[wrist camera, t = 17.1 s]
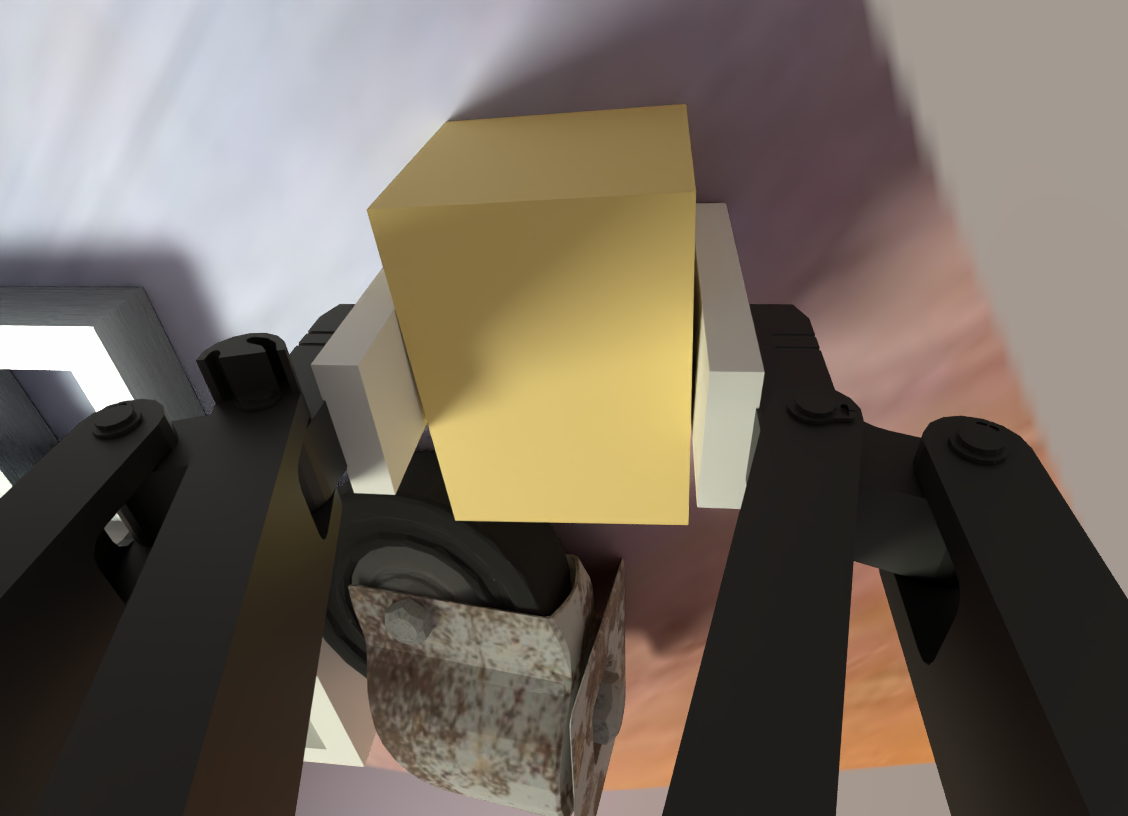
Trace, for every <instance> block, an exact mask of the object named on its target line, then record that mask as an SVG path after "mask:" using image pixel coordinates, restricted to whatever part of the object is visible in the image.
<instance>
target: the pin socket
mask: <svg viewBox="0 0 1128 816" xmlns="http://www.w3.org/2000/svg"><path fill="white" fill-rule="evenodd" d="M9 369H26V370H71V371H72V373H73V375H74V376H75V378H76V379H77V381H78V383H79V384H80V386H81V388H82V389H83V391H84V392H85V394H86V396H87V397H88V399H89V400H90V402H91V404H92V405H93V407H94V409H95V410H96V412H97V411H99V410H101V409H103V408H105V407H106V406H108V405H110V404H113V403H118V402H120V401H124V400H135V399H149V400H156V401H157V402H159V403H160V404H161V405H163V406H164V408H165V410H166V412H167V414H168V416H169V418H170V420H171V421H176V420H182V419H187V418H193V417H199V416H204V415H205V413H204V411H203V409H202V407H201V405H200V403H199V401H198V399H197V397H196V395H195V393H194V391H193V389H192V386H191V384H190V382H189V380H188V378H187V376H186V374H185V372H184V370H183V368H182V366H181V364H180V362H179V360H178V358H177V356H176V354H175V352H174V350H173V348H172V346H171V344H170V342H169V340H168V338H167V336H166V334H165V332H164V330H163V328H162V325H161V323H160V321H159V319H158V317H157V315H156V313H155V311H154V309H153V307H152V305H151V303H150V301H149V299H148V297H147V295H146V293H145V291H144V289H143V287H0V498H1V497H2V496H3V495H4V494H5V493H6V492H7V491H8V490H9V489H10V488H11V487H13V486H14V485H15V484H16V483H17V482H18V481H19V480H20V479H21V478H22V477H23V476H24V475H25V474H26V473H27V472H28V471H29V470H31V469H32V468H33V467H34V466H35V465H36V464H37V463H38V462H39V461H40V460H41V459H42V458H43V457H44V456H45V455H46V454H47V453H49V452H50V451H51V450H52V449H53V448H54V447H55V446H56V445H57V444H58V443H59V442H58V440H57V439H56V437H55V436H54V434H53V433H52V431H51V430H50V428H49V427H48V426H47V424H46V423H45V421H44V420H43V418H42V417H41V415H40V414H39V412H38V411H37V409H36V408H35V407H34V405H33V404H32V402H31V401H30V399H29V398H28V396H27V395H26V393H25V392H24V391H23V389H22V388H21V386H20V385H19V383H18V382H17V380H16V379H15V377H14V376H13V375H12V373H11V372H10V370H9ZM111 521H122V520H121V518H120V517H119V515H118V514H117V513H116V515H115V516H114V517H113V518H112V519H111Z"/></svg>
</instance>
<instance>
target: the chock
mask: <svg viewBox="0 0 1128 816" xmlns="http://www.w3.org/2000/svg"><path fill="white" fill-rule="evenodd" d="M367 212H368V216H369V219H370V223H371V227H372V230H373V234H374V237H375V241H376V244H377V248H378V251H379V255H380V258H381V262H382V265H383V269H384V272H385V276H386V279H387V283H388V286H389V290H390V293H391V297H392V300H393V304H394V307H395V311H396V314H397V318H398V321H399V325H400V328H401V332H402V335H403V339H404V342H405V346H406V349H407V353H408V356H409V360H410V363H411V367H412V370H413V374H414V377H415V381H416V384H417V388H418V391H419V395H420V398H421V402H422V405H423V409H424V412H425V416H426V419H427V423H428V426H429V430H430V433H431V437H432V440H433V444H434V447H435V451H436V454H437V458H438V461H439V465H440V468H441V472H442V476H443V479H444V483H445V486H446V490H447V493H448V497H449V500H450V504H451V507H452V511H453V514H454V518H455V521H503V522H556V523H609V524H662V525H688V517H689V474H690V431H691V388H692V345H693V302H694V259H695V217H696V187H695V178H694V169H693V160H692V151H691V143H690V134H689V125H688V116H687V107H686V104H677V105H664V106H650V107H637V108H623V109H610V110H596V111H583V112H569V113H556V114H542V115H529V116H515V117H502V118H488V119H475V120H461V121H448V122H445V123H444V124H443V126H442V127H441V128H440V129H439V130H438V131H437V132H436V133H435V134H434V135H433V137H432V138H431V139H430V140H429V141H428V142H427V143H426V144H425V145H424V147H423V148H422V149H421V150H420V151H419V152H418V153H417V154H416V155H415V157H414V158H413V159H412V160H411V161H410V162H409V163H408V164H407V165H406V167H405V168H404V169H403V170H402V171H401V172H400V173H399V174H398V175H397V176H396V178H395V179H394V180H393V181H392V182H391V183H390V184H389V185H388V186H387V188H386V189H385V190H384V191H383V192H382V193H381V194H380V195H379V196H378V198H377V199H376V200H375V201H374V202H373V203H372V204H371V205H370V206H369V208H368V209H367Z"/></svg>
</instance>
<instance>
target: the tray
mask: <svg viewBox="0 0 1128 816" xmlns="http://www.w3.org/2000/svg"><path fill="white" fill-rule="evenodd" d="M104 529H105V531H106V532H107V534H108V535H109V537H110V538H111V540H112V541H113V542H114V543H116V544H118V543H119V542H120V541H121V540H123V539H124V537H125V536H126V535H127V534H128V532H129V531H128V529H127V528H126V526H125V525H124V523H123V522H122V521H110V522H109V523H108V524H107V525H106V526H105V528H104ZM375 733H376V730H375V727H374V723H373V719H372V716H371V712H370V706H369V699H368V692H367V678H365V677H364V676H363V675H361V674H360V673H359V672H357V671H356V670H355V669H353V668H352V667H351V666H350V665H348V664H347V663H346V662H345V661H344V660H343V659H342V658H341V657H340V656H339V655H338V654H337V653H336V652H335V651H334V650H333V649H332V647H331V646H330V645H329V644H328V643H327V642H326V641H325V640H324V638H323V637H322V643H321V650H320V656H319V663H318V669H317V676H316V682H315V688H314V695H313V701H312V708H311V714H310V721H309V727H308V734H307V740H306V747H305V753H304V760H303V761H309V762H319V763H329V764H340V765H351V766H361V767H364V766H365V763H366V760H367V757H368V754H369V751H370V748H371V745H372V742H373V739H374V736H375Z"/></svg>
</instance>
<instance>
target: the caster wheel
mask: <svg viewBox="0 0 1128 816" xmlns="http://www.w3.org/2000/svg"><path fill="white" fill-rule="evenodd" d="M338 492H339V495H340V498H341V503H342V514H341V520H340V527H339V533H338V539H337V546H336V552H335V559H334V565H333V572H332V578H331V585H330V591H329V598H328V604H327V611H326V617H325V624H324V630H323V638H324V640H325V641H326V642H327V643H328V644H329V645H330V646H331V647H332V649H333V650H334V651H335V652H336V653H337V654H338V655H339V656H340V657H341V658H342V659H343V660H344V661H345V662H346V663H347V664H348V665H350V666H351V667H352V668H353V669H355V670H356V671H357V672H359V673H360V674H361V675H363V676H364V677H365V678H367V692H368V699H369V706H370V712H371V716H372V719H373V723H374V727H375V730H376V732H377V734H378V736H379V738H380V740H381V741H382V743H383V745H384V746H385V748H386V749H387V750H388V751H389V753H390V754H391V755H392V757H393V758H394V759H395V760H396V761H397V762H398V763H399V764H400V765H402V766H403V767H404V768H405V769H406V770H407V771H408V772H409V773H411V774H413V775H414V776H416V777H417V778H419V779H421V780H422V781H424V782H426V783H428V784H430V785H433V786H435V787H438V788H440V789H443V790H446V791H450V792H454V793H458V794H462V795H465V796H470V797H474V798H477V799H481V800H485V801H489V802H493V803H497V804H501V805H505V806H509V807H513V808H517V809H520V810H525V811H528V812H532V813H536V814H540V815H544V816H571V814H572V813H573V811H575V812H574V813H575V816H596V814H597V810H598V806H599V802H600V798H601V794H602V790H603V786H604V782H605V778H606V774H607V770H608V766H609V762H610V757H611V753H612V749H613V745H614V741H615V737H616V736H617V734H618V733H619V731H620V728H621V725H622V719H623V714H624V706H625V564H624V560H623V558H622V560H621V562H620V565H619V568H618V571H617V574H616V577H615V580H614V583H613V586H612V589H611V593H610V596H609V599H608V602H607V605H606V608H605V611H604V614H603V617H602V619H601V618H600V617H597V616H596V614H595V612H594V597H593V587H592V584H591V580H590V577H589V575H588V574H587V572H586V570H585V568H584V567H583V565H582V563H581V562H580V560H579V558H578V557H577V556H575V555H572V554H565V551H564V549H563V547H562V544H561V542H560V540H559V538H558V537H557V535H556V533H555V531H554V529H553V527H552V526H551V524H550V523H549V522H503V521H455V518H454V514H453V511H452V507H451V504H450V500H449V497H448V493H447V490H446V486H445V483H444V479H443V476H442V472H441V468H440V465H439V461H438V458H437V454H436V452H432V451H414V453H413V456H412V458H411V460H410V462H409V465H408V467H407V469H406V471H405V474H404V476H403V478H402V481H401V483H400V485H399V487H398V490H397V492H396V494H395V495H389V494H365V493H354V491H353V488H352V485H351V482H350V479H349V480H348V481H347V482H346V483H345V484H344V485H343V486H342V487H341V488H340V489H339V490H338Z"/></svg>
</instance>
